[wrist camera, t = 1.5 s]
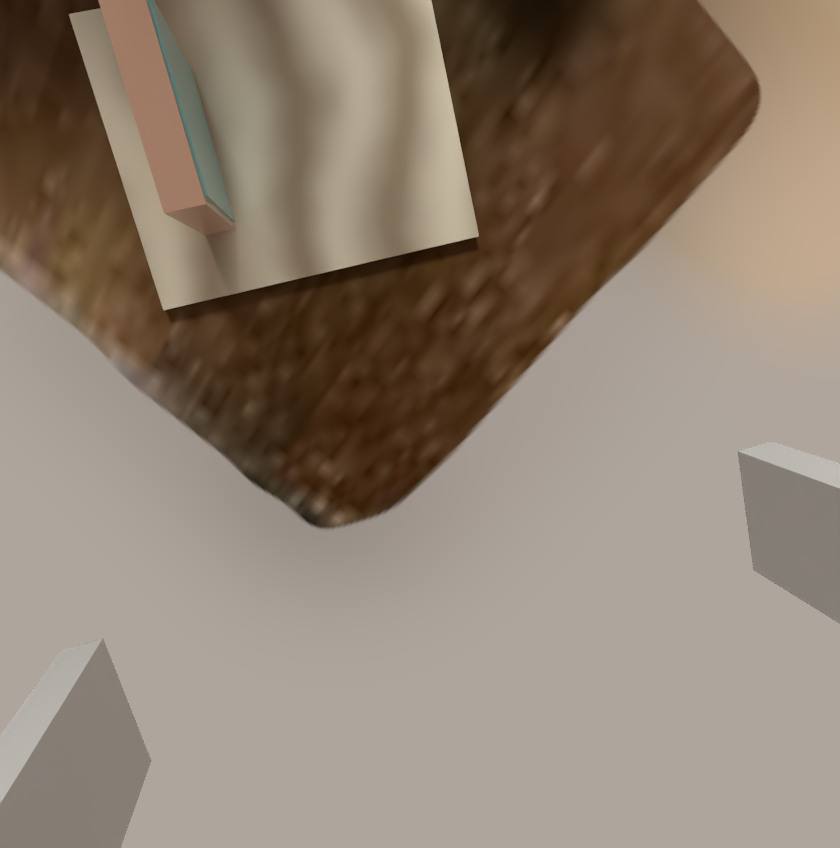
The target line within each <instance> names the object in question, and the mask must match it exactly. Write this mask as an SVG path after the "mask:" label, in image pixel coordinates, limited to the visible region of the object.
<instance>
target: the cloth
mask: <svg viewBox="0 0 840 848" xmlns="http://www.w3.org/2000/svg"><path fill="white" fill-rule="evenodd" d="M154 1H155V3H156V5H157V6H158V8H159V10H160V12H161V14H162V16H163V17H164V19H165V21H166V23H167V25H168V27H169V29H170V30H171V32H172V34H173V36H174V38H175V40H176V41H177V43H178V45H179V47H180V49H181V51H182V52H183V54H184V56H185V58H186V60H187V62H188V64H189V65H190V67H191V69H192V71H193V75H194V78H195V82H196V85H197V89H198V93H199V96H200V100H201V103H202V107H203V110H204V114H205V117H206V121H207V124H208V128H209V131H210V135H211V138H212V142H213V145H214V149H215V152H216V156H217V159H218V163H219V166H220V170H221V173H222V177H223V180H224V184H225V187H226V191H227V194H228V198H229V201H230V205H231V208H232V212H233V215H234V219H235V222H234V225H235V229H233V230H228V231H224V232H219V233H215V234H211V235H206V236H205V235H203V234H201V233H199V232H198V231H196V230H194V229H192V228H190V227H188V226H187V225H185V224H183V223H181V222H179V221H177V220H176V219H174V218H172V217H170V216H168V215H166V214H165V213H164V212H163V208H162V205H161V202H160V199H159V195H158V192H157V189H156V186H155V182H154V179H153V176H152V173H151V169H150V166H149V163H148V160H147V156H146V153H145V150H144V147H143V144H142V140H141V137H140V134H139V131H138V127H137V124H136V121H135V118H134V114H133V111H132V108H131V105H130V101H129V98H128V95H127V92H126V88H125V85H124V82H123V79H122V76H121V72H120V69H119V66H118V63H117V59H116V56H115V53H114V50H113V46H112V43H111V40H110V37H109V33H108V30H107V27H106V24H105V20H104V17H103V14H102V11H101V8H99V9H93V10H88V11H82V12H77V13H71V14H69V17H70V20H71V23H72V26H73V29H74V33H75V36H76V39H77V42H78V45H79V48H80V51H81V54H82V58H83V61H84V64H85V67H86V70H87V73H88V76H89V79H90V83H91V86H92V89H93V92H94V95H95V98H96V101H97V104H98V108H99V111H100V114H101V117H102V120H103V123H104V126H105V130H106V133H107V136H108V139H109V142H110V145H111V148H112V151H113V155H114V158H115V161H116V164H117V167H118V170H119V173H120V176H121V180H122V183H123V186H124V189H125V192H126V195H127V198H128V201H129V205H130V208H131V211H132V214H133V217H134V220H135V223H136V226H137V230H138V233H139V236H140V239H141V242H142V245H143V248H144V251H145V255H146V258H147V261H148V264H149V267H150V270H151V273H152V277H153V280H154V283H155V286H156V289H157V292H158V295H159V298H160V302H161V305H162V308H163V310H168V309H173V308H177V307H181V306H185V305H190V304H194V303H198V302H202V301H207V300H211V299H215V298H219V297H224V296H228V295H232V294H237V293H241V292H245V291H249V290H254V289H258V288H262V287H266V286H271V285H275V284H279V283H283V282H288V281H292V280H296V279H300V278H305V277H309V276H313V275H317V274H322V273H326V272H330V271H335V270H339V269H343V268H347V267H352V266H356V265H360V264H364V263H369V262H373V261H377V260H381V259H386V258H390V257H394V256H398V255H403V254H407V253H411V252H415V251H420V250H424V249H428V248H432V247H437V246H441V245H445V244H450V243H454V242H458V241H462V240H467V239H471V238H475V237H478V236H479V234H478V229H477V224H476V219H475V214H474V209H473V204H472V199H471V194H470V189H469V184H468V179H467V174H466V169H465V165H464V160H463V155H462V150H461V145H460V140H459V135H458V130H457V125H456V120H455V115H454V110H453V105H452V100H451V95H450V90H449V85H448V80H447V75H446V71H445V66H444V61H443V56H442V51H441V46H440V41H439V36H438V31H437V26H436V21H435V16H434V11H433V6H432V1H431V0H154Z"/></svg>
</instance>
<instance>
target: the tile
mask: <svg viewBox="0 0 840 848" xmlns="http://www.w3.org/2000/svg"><path fill="white" fill-rule="evenodd" d="M98 1H99V4H100V8H101V11H102V14H103V17H104V20H105V24H106V27H107V30H108V33H109V37H110V40H111V43H112V46H113V50H114V53H115V56H116V59H117V63H118V66H119V69H120V72H121V76H122V79H123V82H124V85H125V88H126V92H127V95H128V98H129V101H130V105H131V108H132V111H133V114H134V118H135V121H136V124H137V127H138V131H139V134H140V137H141V140H142V144H143V147H144V150H145V153H146V156H147V160H148V163H149V166H150V169H151V173H152V176H153V179H154V182H155V186H156V189H157V192H158V195H159V199H160V202H161V205H162V208H163V212H164V213H165V214H166V215H168V216H170V217H172V218H174V219H176V220H177V221H179V222H181V223H183V224H185V225H187V226H188V227H190V228H192V229H194V230H196V231H198V232H199V233H201V234H203V235H205V236H206V235H211V234H215V233H219V232H224V231H228V230H233V229H235V225H234V222H235V219H234V215H233V212H232V208H231V205H230V201H229V198H228V194H227V191H226V187H225V184H224V180H223V177H222V173H221V170H220V166H219V163H218V159H217V156H216V152H215V149H214V145H213V142H212V138H211V135H210V131H209V128H208V124H207V121H206V117H205V114H204V110H203V107H202V103H201V100H200V96H199V93H198V89H197V85H196V82H195V78H194V75H193V71H192V69H191V67H190V65H189V64H188V62H187V60H186V58H185V56H184V54H183V52H182V51H181V49H180V47H179V45H178V43H177V41H176V40H175V38H174V36H173V34H172V32H171V30H170V29H169V27H168V25H167V23H166V21H165V19H164V17H163V16H162V14H161V12H160V10H159V8H158V6H157V5H156V3H155V1H154V0H98Z"/></svg>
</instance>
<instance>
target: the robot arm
mask: <svg viewBox="0 0 840 848" xmlns="http://www.w3.org/2000/svg"><path fill="white" fill-rule="evenodd" d="M738 457H739V464H740V472H741V479H742V486H743V495H744V502H745V510H746V516H747V524H748V532H749V540H750V547H751V555H752V562H753V569H754V571H756V572H758V573H759V574H761V575H763V576H764V577H766V578H767V579H769V580H771V581H772V582H774V583H775V584H777V585H779V586H780V587H782V588H783V589H785V590H787V591H788V592H790V593H791V594H793V595H795V596H796V597H798V598H799V599H801V600H803V601H804V602H806V603H807V604H809V605H811V606H812V607H814V608H816V609H817V610H819V611H820V612H822V613H824V614H825V615H827V616H828V617H830V618H832V619H833V620H835V621H836V622H838V623H840V463H837V462H834V461H831V460H828V459H825V458H821V457H818V456H815V455H812V454H809V453H806V452H802V451H799V450H796V449H793V448H790V447H786V446H783V445H780V444H777V443H774V442H768V443H764V444H761V445H757V446H754V447H751V448H747V449H744V450H740V451H738ZM150 763H151V759H150V756H149V754H148V751H147V749H146V746H145V744H144V741H143V739H142V736H141V734H140V731H139V728H138V726H137V724H136V721H135V718H134V716H133V714H132V711H131V708H130V706H129V703H128V701H127V698H126V696H125V694H124V691H123V688H122V686H121V683H120V680H119V678H118V675H117V673H116V670H115V668H114V665H113V663H112V660H111V658H110V655H109V653H108V650H107V648H106V645H105V643H104V640H103V639H100V640H96V641H93V642H89V643H86V644H83V645H79V646H75V647H72V648H69V649H65V650H62V651H61V652H60V653H59V655H58V656H57V657H56V659H55V660H54V662H53V663H52V664H51V666H50V667H49V668H48V670H47V671H46V672H45V674H44V675H43V677H42V678H41V679H40V681H39V682H38V684H37V685H36V687H35V688H34V689H33V691H32V692H31V693H30V695H29V696H28V698H27V699H26V700H25V702H24V703H23V705H22V706H21V708H20V709H19V710H18V712H17V713H16V714H15V716H14V717H13V719H12V720H11V721H10V723H9V724H8V726H7V727H6V728H5V730H4V731H3V733H2V734H1V735H0V848H121V845H122V842H123V840H124V837H125V834H126V831H127V828H128V825H129V822H130V820H131V817H132V814H133V811H134V808H135V805H136V803H137V800H138V797H139V794H140V791H141V788H142V786H143V783H144V780H145V777H146V774H147V771H148V768H149V766H150Z"/></svg>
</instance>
